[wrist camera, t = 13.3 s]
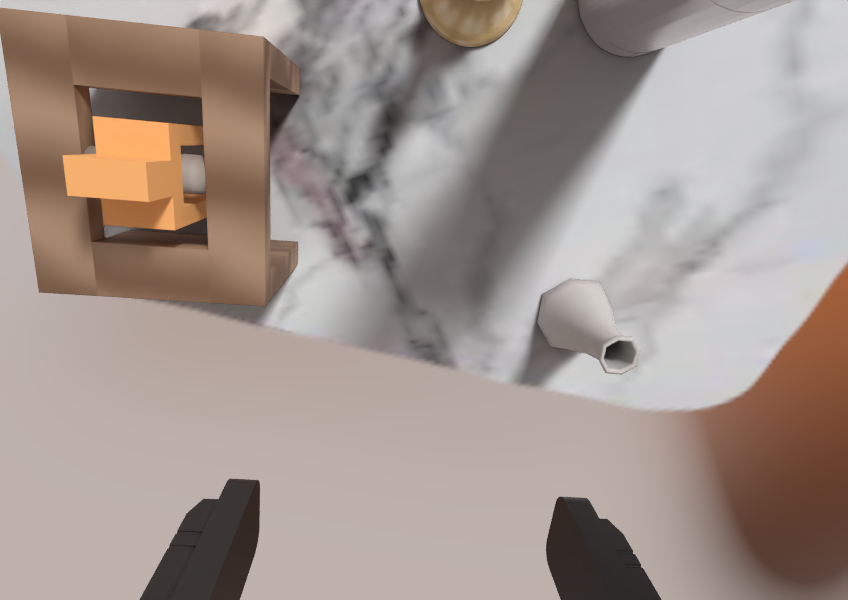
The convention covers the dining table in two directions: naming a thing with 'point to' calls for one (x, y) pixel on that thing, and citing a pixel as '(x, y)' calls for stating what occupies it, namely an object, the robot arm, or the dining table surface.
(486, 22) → the hand bell
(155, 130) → the stepped orange block
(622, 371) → the flask
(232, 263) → the brown square frame
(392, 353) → the dining table surface
